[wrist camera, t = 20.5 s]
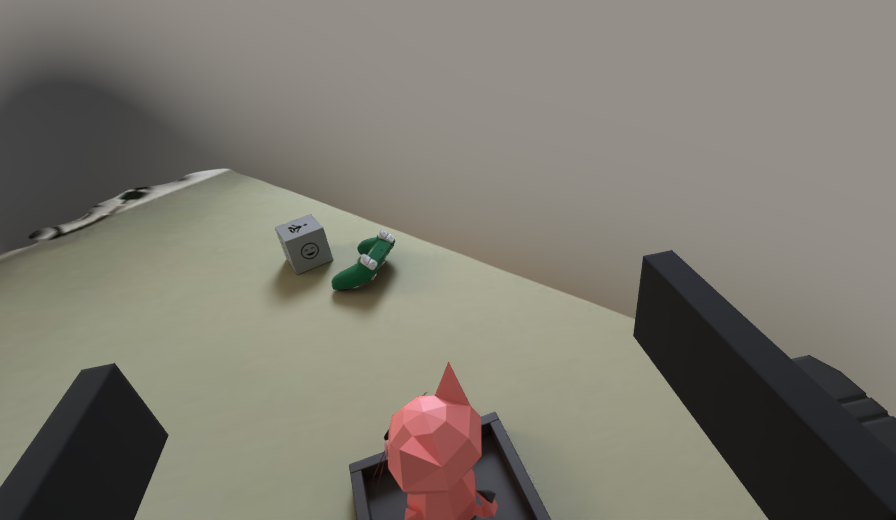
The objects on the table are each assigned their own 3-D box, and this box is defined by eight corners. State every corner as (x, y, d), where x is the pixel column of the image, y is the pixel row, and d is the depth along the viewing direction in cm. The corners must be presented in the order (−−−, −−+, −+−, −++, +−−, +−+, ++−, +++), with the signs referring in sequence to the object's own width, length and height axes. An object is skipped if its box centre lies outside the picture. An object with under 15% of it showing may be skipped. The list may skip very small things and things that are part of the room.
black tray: (573, 579, 28) (574, 564, 26) (384, 665, 25) (377, 652, 24) (496, 426, 37) (495, 411, 36) (354, 479, 35) (348, 464, 34)
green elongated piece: (351, 305, 56) (377, 279, 52) (326, 286, 55) (350, 258, 51) (380, 262, 63) (404, 237, 59) (358, 244, 62) (381, 218, 58)
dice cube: (286, 258, 63) (274, 227, 60) (321, 245, 65) (311, 214, 62) (296, 274, 59) (284, 241, 57) (333, 260, 61) (323, 227, 59)
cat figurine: (430, 458, 35) (401, 342, 28) (518, 488, 32) (508, 367, 26) (382, 553, 30) (334, 438, 23) (482, 598, 27) (460, 482, 20)
